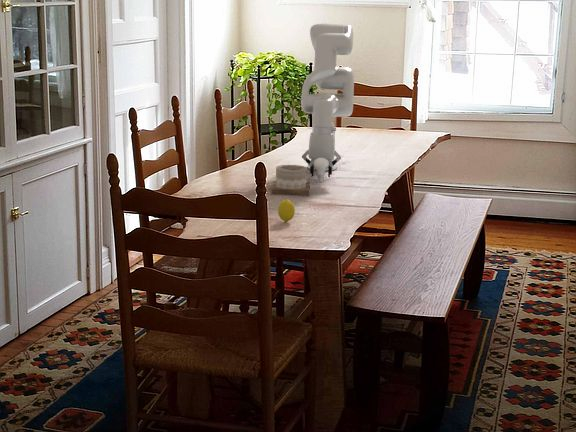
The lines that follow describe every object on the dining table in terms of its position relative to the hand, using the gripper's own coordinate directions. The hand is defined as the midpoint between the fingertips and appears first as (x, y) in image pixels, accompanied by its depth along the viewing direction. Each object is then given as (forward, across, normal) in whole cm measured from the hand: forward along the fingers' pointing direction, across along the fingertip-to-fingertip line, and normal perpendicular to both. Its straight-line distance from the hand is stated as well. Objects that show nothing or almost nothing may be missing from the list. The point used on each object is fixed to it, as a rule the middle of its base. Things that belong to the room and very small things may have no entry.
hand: (320, 175), depth 360 cm
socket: (+4, +11, +11) cm, 16 cm away
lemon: (+3, +10, +56) cm, 57 cm away
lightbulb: (+3, 0, 0) cm, 3 cm away
